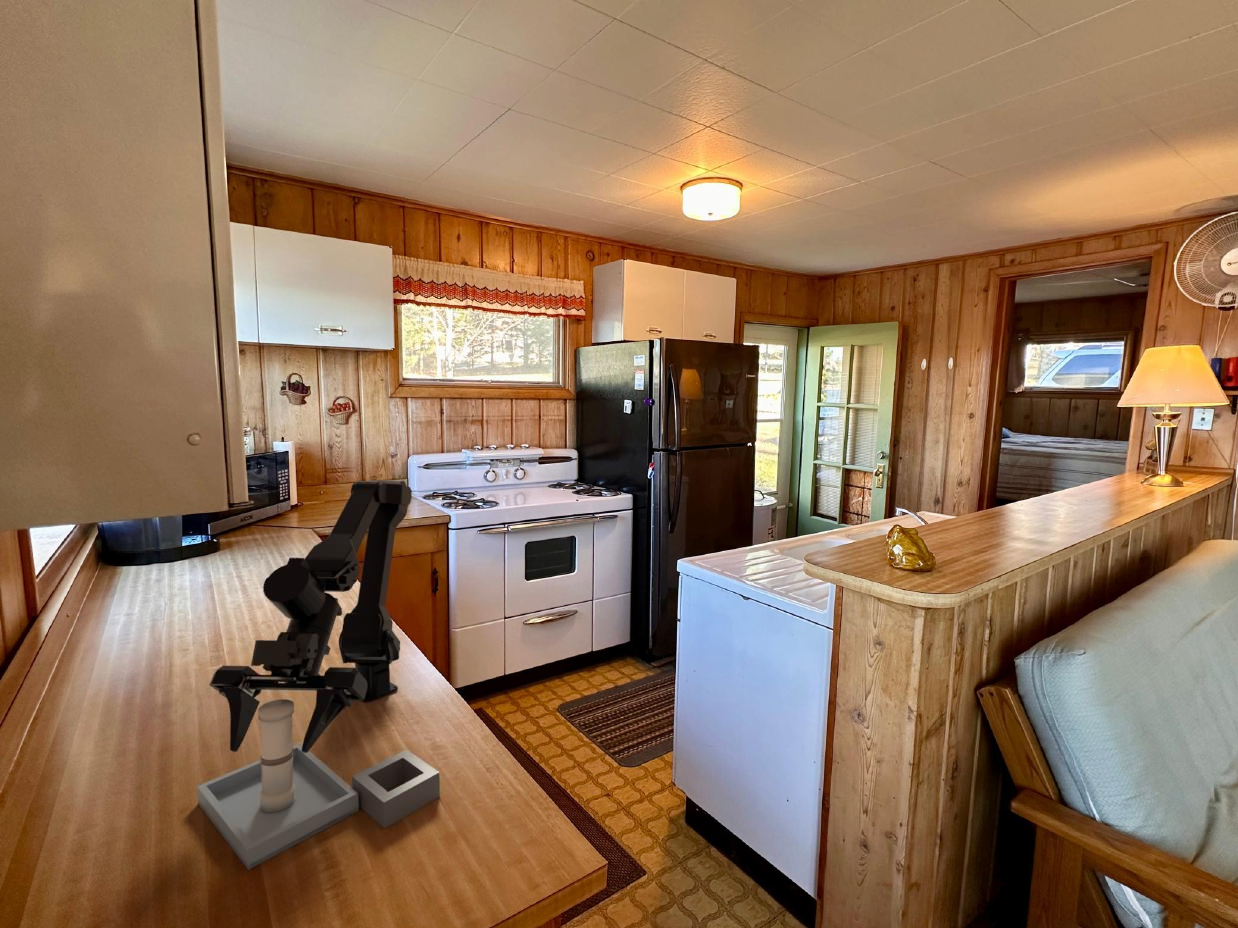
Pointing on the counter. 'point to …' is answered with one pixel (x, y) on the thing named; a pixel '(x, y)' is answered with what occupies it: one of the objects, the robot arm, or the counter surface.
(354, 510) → the robot arm
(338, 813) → the parts tray
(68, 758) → the counter surface
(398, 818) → the holder
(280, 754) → the beige banded cylinder
